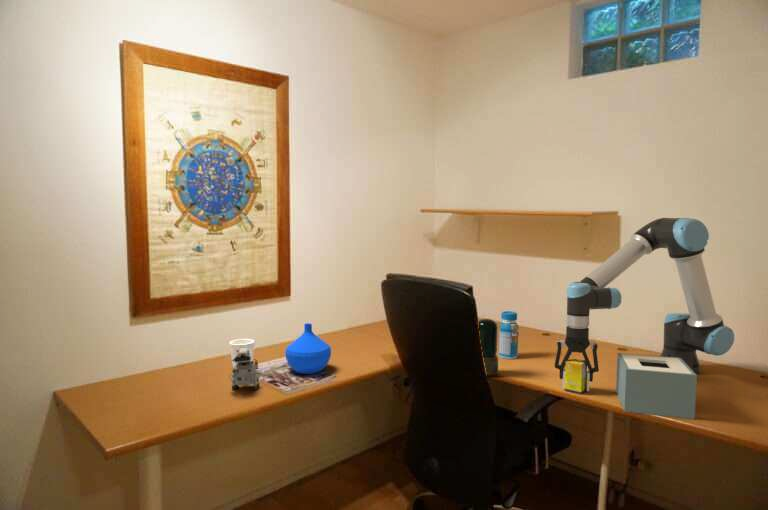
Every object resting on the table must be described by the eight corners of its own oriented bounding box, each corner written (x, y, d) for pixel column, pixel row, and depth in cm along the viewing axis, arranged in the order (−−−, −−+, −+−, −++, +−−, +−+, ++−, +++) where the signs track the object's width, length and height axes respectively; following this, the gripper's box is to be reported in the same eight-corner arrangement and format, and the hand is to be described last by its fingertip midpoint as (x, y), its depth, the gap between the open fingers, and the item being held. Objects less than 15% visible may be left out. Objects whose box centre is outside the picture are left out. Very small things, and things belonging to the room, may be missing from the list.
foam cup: (229, 378, 197) (229, 345, 196) (230, 371, 206) (229, 339, 205) (255, 376, 199) (254, 343, 198) (254, 369, 208) (254, 338, 207)
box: (678, 397, 178) (680, 357, 177) (694, 419, 159) (696, 375, 158) (616, 390, 184) (617, 352, 183) (624, 411, 165) (626, 369, 164)
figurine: (226, 395, 179) (224, 353, 177) (237, 384, 190) (236, 345, 189) (251, 396, 178) (250, 354, 177) (261, 385, 189) (260, 345, 188)
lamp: (502, 373, 204) (503, 319, 202) (490, 379, 197) (491, 322, 195) (481, 368, 210) (482, 315, 209) (469, 373, 203) (469, 319, 201)
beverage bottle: (498, 358, 224) (499, 313, 223) (498, 353, 232) (499, 310, 231) (518, 360, 222) (519, 314, 221) (517, 354, 230) (519, 311, 229)
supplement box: (570, 386, 189) (571, 357, 188) (586, 390, 185) (587, 360, 184) (564, 390, 184) (565, 361, 183) (581, 394, 180) (582, 364, 179)
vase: (337, 365, 213) (337, 320, 212) (320, 379, 196) (320, 330, 194) (297, 362, 218) (297, 318, 217) (277, 375, 201) (276, 327, 199)
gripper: (607, 325, 183) (604, 388, 185) (547, 322, 189) (546, 382, 191) (609, 330, 176) (607, 395, 178) (547, 326, 182) (546, 389, 184)
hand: (575, 388), depth 184 cm, fingers closed on supplement box, 7 cm apart
